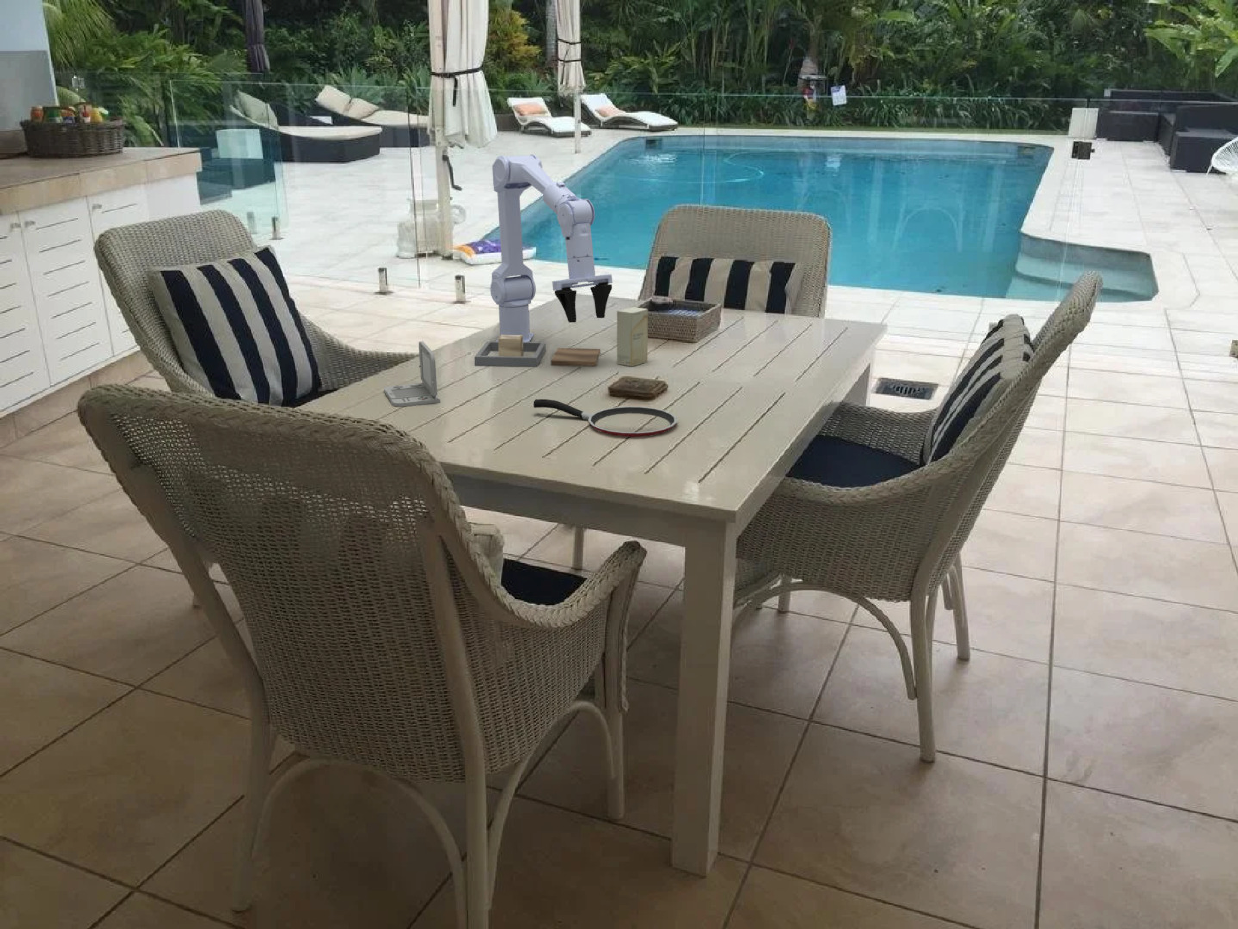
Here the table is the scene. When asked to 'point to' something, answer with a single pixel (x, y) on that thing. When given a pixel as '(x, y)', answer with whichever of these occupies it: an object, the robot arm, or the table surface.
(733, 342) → the table surface
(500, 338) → the maple block
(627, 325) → the skincare box
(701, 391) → the table surface
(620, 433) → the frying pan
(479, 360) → the grey bin
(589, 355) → the walnut board
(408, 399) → the handheld gaming console
